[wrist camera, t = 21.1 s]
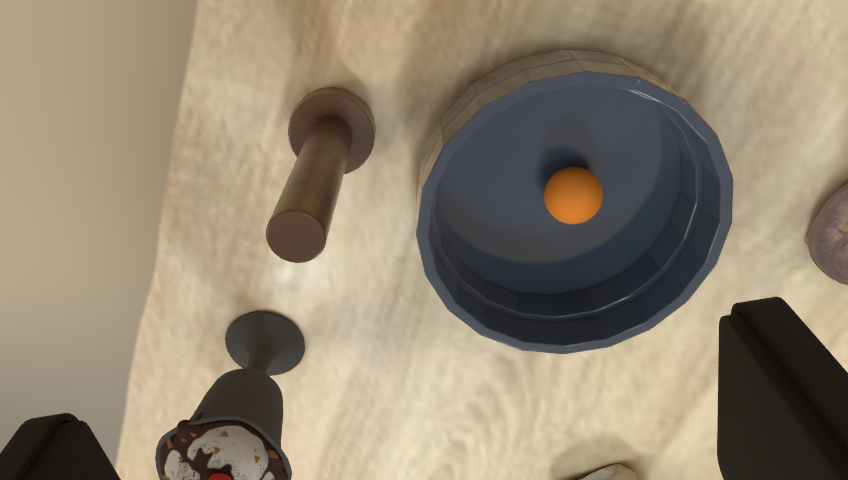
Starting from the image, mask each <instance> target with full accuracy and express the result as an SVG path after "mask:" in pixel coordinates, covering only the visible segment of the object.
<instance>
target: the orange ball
mask: <svg viewBox="0 0 848 480" xmlns="http://www.w3.org/2000/svg"><path fill="white" fill-rule="evenodd" d="M602 199H603V191H602V186H601V184H600V182H599V180H598V179H597V177H596V176H595V175H594V174H593V173H591V172H590V171H588V170H586V169H584V168H581V167H567V168H564V169H561V170H559V171H557V172H556V173H555V174H554V175H553V176H552V177H551V178H550V179H549V181H548V182H547V184H546V187H545V191H544V201H545V205H546V207H547V209H548V211H549V213H550V214H551V215H552V216H553V217H554V218H556V219H557V220H559V221H561V222H563V223H567V224H579V223H583V222H585V221H587V220H589V219H591V218H592V217H593V216H594V215H595V214H596V213H597V212H598V210H599V208H600V206H601V203H602Z"/></svg>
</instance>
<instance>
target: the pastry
mask: <svg viewBox="0 0 848 480" xmlns="http://www.w3.org/2000/svg"><path fill="white" fill-rule="evenodd" d="M579 480H638V475H637V474H636V473H635V472H634V471H632V470H630V469H628V468H627V467H625V466H623V465H620V464H614V465H611V466H608V467H605V468H603V469H600V470H597V471H595V472H593V473H591V474H589V475H588V476H586V477H584V478H582V479H579Z"/></svg>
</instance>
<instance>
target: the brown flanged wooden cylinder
mask: <svg viewBox="0 0 848 480" xmlns="http://www.w3.org/2000/svg"><path fill="white" fill-rule="evenodd" d="M288 135H289V141H290V145H291V147H292V150H293V152H294V153H295V155H296V156H297V160H296V162H295V165H294V167H293V169H292V171H291V174H290V176H289V178H288V180H287V183H286V185H285V187H284V189H283V192H282V194H281V196H280V198H279V201H278V203H277V205H276V207H275V210H274V212H273V214H272V216H271V219H270V221H269V223H268V225H267V229H266V239H267V242H268V244H269V246H270V248H271V250H272V251H273V252H274V253H275V254H276V255H277V256H279V257H280V258H282V259H284V260H286V261H290V262H295V263H302V262H307V261H310V260H312V259H314V258H316V257H317V256H318V255H319V254H320V253H321V252H322V251H323V249H324V247H325V244H326V240H327V236H328V232H329V228H330V225H331V221H332V217H333V213H334V209H335V205H336V202H337V198H338V194H339V190H340V186H341V182H342V179H343V175H344V174H347V173H350V172H352V171H354V170H356V169H357V168H359V167H360V166H361V165H362V164H363V163H364V162H365V161H366V160H367V159H368V157H369V155H370V154H371V151H372V148H373V144H374V139H375V123H374V119H373V116H372V114H371V112H370V110H369V108H368V107H367V106H366V104H365V103H364V102H363V101H362V100H361V99H360V98H358V97H357V96H356V95H354V94H352V93H350V92H348V91H345V90H342V89H337V88H325V89H320V90H317V91H314V92H312V93H310V94H309V95H307V96H306V97H305V98H303V99H302V101H301V102H300V103H299V104H298V106H297V107H296V109H295V111H294V113H293V115H292V117H291V119H290V122H289V128H288Z"/></svg>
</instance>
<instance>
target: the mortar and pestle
mask: <svg viewBox="0 0 848 480" xmlns="http://www.w3.org/2000/svg"><path fill="white" fill-rule="evenodd" d="M804 242H805V243H806V244H807V245H808V247H809V252H810V256H811V258H812V259H813V261H814V262H815V264H816V265H817V266H818V267H819V268H820V269H821V270H822V271H823V272H824V273H825V274H826V275H827V276H829V277H830V278H832V279H834V280H836V281H838V282H839V283H842V284H846V285H848V182H847V183H846V184H845V185H843V186H842V187H841V188H840V189H838V190H837V191H836V192H835V193H834V194H833V195H832V196H831V197H830V198H829V199H828V200H827V201H826V203H825V204H824V206H823V208H822V209H821V211H820V212H819V214H818V215H817V217H816V218H815V220H814V221H813V223H812V225H811V228H810V230H809V232H808V234H807V237H806V239H805V241H804Z"/></svg>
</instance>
